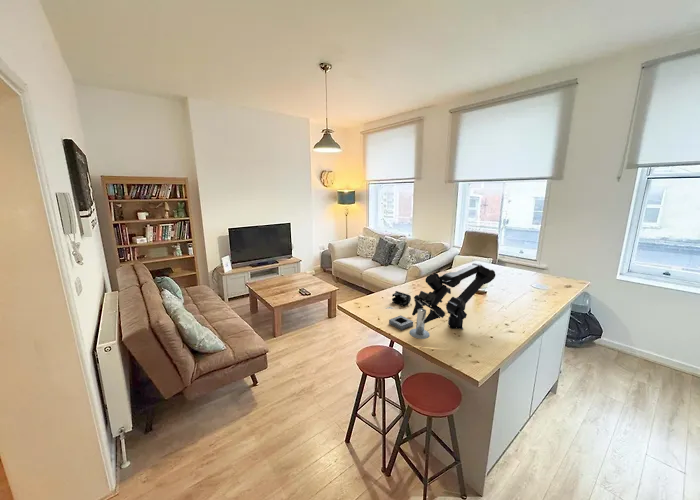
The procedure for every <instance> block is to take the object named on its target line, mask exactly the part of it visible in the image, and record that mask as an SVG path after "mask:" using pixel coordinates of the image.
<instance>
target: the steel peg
mask: <svg viewBox="0 0 700 500" xmlns="http://www.w3.org/2000/svg"><path fill="white" fill-rule="evenodd" d="M426 315H427V310H426V309H425V308H423V309H422V308H420V309H418V313H417V314H416V325H415V329H416V334H417V335H423V334H424V330H425V326H426V325H425V324H426V323H423V322H424V320H425V319H426V317H427V316H426Z"/></svg>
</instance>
